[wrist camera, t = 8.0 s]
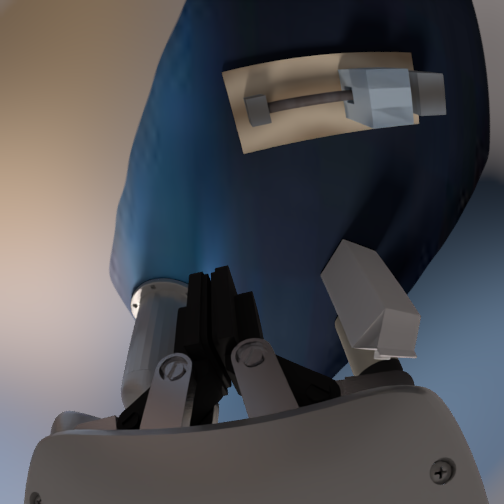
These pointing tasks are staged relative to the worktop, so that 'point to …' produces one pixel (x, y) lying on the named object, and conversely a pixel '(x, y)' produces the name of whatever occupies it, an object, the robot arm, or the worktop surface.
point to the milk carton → (371, 303)
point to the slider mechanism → (314, 96)
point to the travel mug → (364, 357)
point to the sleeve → (378, 96)
